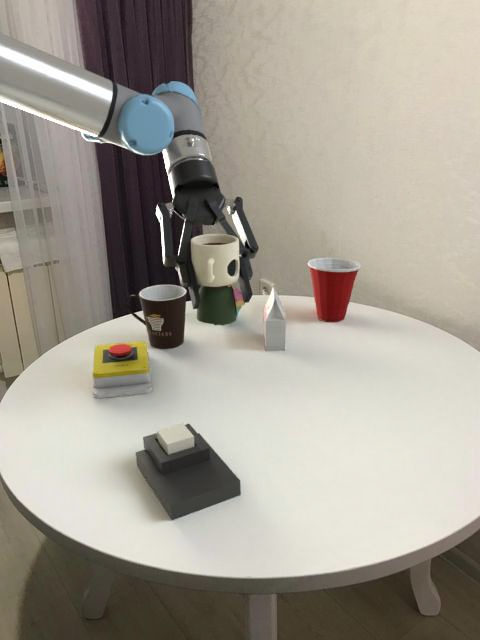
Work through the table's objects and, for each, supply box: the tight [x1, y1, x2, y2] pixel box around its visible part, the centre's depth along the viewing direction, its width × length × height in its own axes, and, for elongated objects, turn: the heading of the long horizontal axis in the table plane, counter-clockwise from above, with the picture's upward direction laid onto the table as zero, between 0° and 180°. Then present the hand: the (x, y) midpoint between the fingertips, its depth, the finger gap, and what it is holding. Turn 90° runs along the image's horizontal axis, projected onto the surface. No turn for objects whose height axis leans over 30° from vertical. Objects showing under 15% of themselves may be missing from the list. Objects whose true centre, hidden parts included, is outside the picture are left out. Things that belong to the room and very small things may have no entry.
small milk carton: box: [263, 287, 287, 351], centre depth 110 cm, size 4×7×10 cm, turn 2°
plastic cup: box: [306, 257, 362, 323], centre depth 121 cm, size 11×11×12 cm
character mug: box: [190, 233, 240, 326], centre depth 89 cm, size 11×7×13 cm, turn 174°
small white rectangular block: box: [156, 422, 194, 455], centre depth 75 cm, size 4×4×2 cm
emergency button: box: [92, 340, 153, 399], centre depth 99 cm, size 9×4×15 cm
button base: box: [135, 423, 242, 521], centre depth 74 cm, size 12×9×4 cm
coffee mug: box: [124, 284, 188, 350], centre depth 111 cm, size 12×9×10 cm
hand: (223, 301), depth 87 cm, fingers closed on character mug, 7 cm apart
